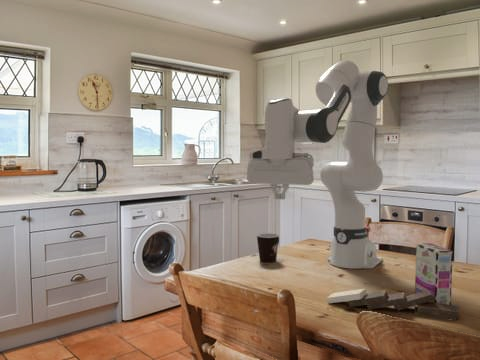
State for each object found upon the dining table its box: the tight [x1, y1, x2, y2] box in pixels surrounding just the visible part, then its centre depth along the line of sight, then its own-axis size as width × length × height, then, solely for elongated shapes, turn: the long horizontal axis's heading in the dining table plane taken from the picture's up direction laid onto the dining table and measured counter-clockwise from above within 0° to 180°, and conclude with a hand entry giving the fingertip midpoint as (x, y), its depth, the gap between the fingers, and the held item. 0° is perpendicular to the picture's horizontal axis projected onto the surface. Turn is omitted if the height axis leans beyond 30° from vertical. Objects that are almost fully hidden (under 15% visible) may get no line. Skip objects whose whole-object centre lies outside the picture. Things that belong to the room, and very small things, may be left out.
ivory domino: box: [326, 288, 368, 304], centre depth 129 cm, size 2×5×10 cm
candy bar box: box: [414, 242, 454, 305], centre depth 128 cm, size 11×5×16 cm, turn 8°
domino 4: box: [413, 305, 457, 321], centre depth 121 cm, size 2×5×10 cm
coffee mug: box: [256, 232, 280, 264], centre depth 178 cm, size 12×9×10 cm
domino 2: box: [366, 291, 406, 311], centre depth 125 cm, size 2×5×10 cm
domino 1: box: [347, 289, 389, 308], centre depth 126 cm, size 2×5×10 cm
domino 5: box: [416, 302, 460, 319], centre depth 120 cm, size 2×5×10 cm
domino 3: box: [393, 290, 434, 312], centre depth 124 cm, size 2×5×10 cm
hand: (279, 199), depth 136 cm, fingers closed
